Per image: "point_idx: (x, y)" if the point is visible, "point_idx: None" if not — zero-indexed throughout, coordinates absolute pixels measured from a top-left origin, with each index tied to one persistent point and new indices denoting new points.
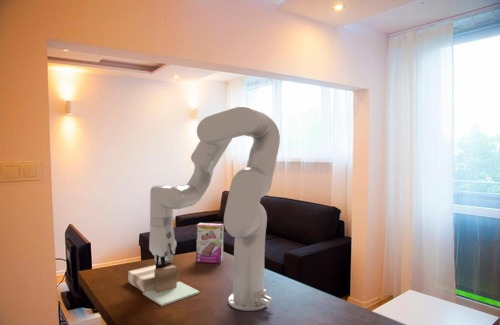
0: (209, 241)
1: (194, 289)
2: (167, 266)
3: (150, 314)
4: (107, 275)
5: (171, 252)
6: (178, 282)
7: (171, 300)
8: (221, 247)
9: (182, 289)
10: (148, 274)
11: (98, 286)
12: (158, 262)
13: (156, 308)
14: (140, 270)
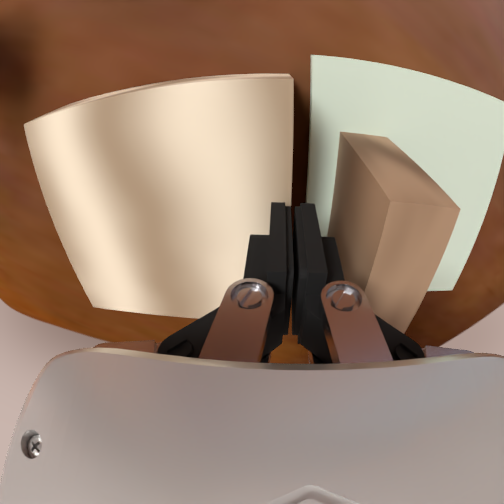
0: None
1: (484, 98)
2: (373, 266)
3: (447, 323)
4: (32, 281)
5: (461, 388)
6: (326, 73)
7: (467, 253)
8: None
9: (439, 139)
10: (199, 270)
11: (119, 335)
12: (312, 356)
13: (442, 300)
14: (101, 267)
